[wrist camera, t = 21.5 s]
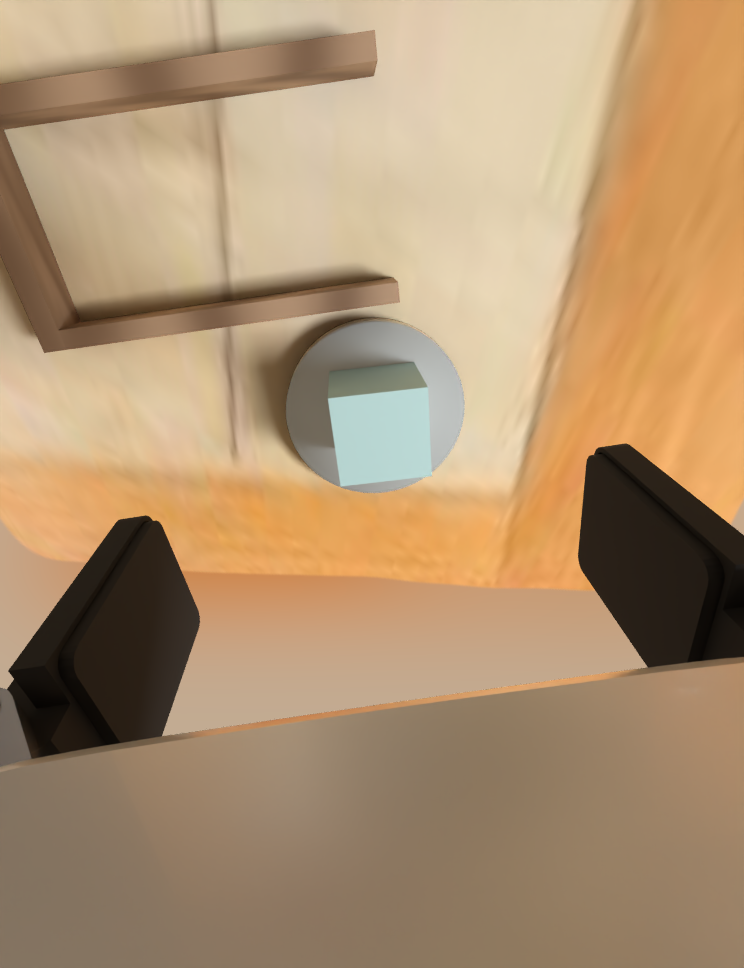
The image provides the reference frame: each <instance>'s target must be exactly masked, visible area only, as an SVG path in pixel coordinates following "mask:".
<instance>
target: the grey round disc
mask: <svg viewBox="0 0 744 968" xmlns="http://www.w3.org/2000/svg"><path fill="white" fill-rule="evenodd" d="M409 362H414V363H415V365H416V366H417V368H418V370H419V372H420V374H421V375H422V377H423V379H424V381H425V383H426V384H427V386H428V397H429V421H430V445H431V470H432V472H433V471H434V470H435V469H436V468H437V467H438V466H439V465H440V464H441V463H442V462H443V461H444V460H445V458H446V457H447V456H448V455H449V453H450V451H451V450H452V448H453V447H454V445H455V443H456V441H457V438H458V436H459V433H460V430H461V427H462V423H463V417H464V394H463V388H462V384H461V380H460V378H459V375H458V373H457V371H456V369H455V367H454V365H453V363H452V362H451V360H450V359H449V358H448V356H447V355H446V354H445V352H444V351H443V350H442V349H441V348H440V346H439V345H438V344H437V343H436V342H435V341H434V340H433V339H431V338H430V337H429V336H428V335H426V334H425V333H424V332H422V331H421V330H419V329H417V328H415V327H413V326H411V325H409V324H406V323H403V322H400V321H396V320H391V319H385V318H367V319H360V320H355V321H351V322H348V323H345V324H342V325H339V326H338V327H336V328H334V329H332V330H330V331H328V332H327V333H325V334H324V335H323V336H321V337H320V338H318V339H317V340H316V341H315V342H314V343H313V344H312V345H311V346H310V347H309V348H308V350H307V351H306V352H305V353H304V355H303V356H302V358H301V359H300V361H299V363H298V364H297V366H296V369H295V371H294V373H293V376H292V379H291V382H290V386H289V390H288V393H287V400H286V420H287V426H288V430H289V434H290V437H291V440H292V442H293V444H294V446H295V448H296V450H297V452H298V453H299V455H300V456H301V458H302V459H303V460H304V462H305V463H306V464H307V465H308V466H309V467H310V468H311V469H312V470H313V471H314V472H315V473H316V474H318V475H319V476H321V477H322V478H323V479H325V480H327V481H329V482H330V483H332V484H334V485H337V486H339V487H342V488H344V489H348V490H352V491H357V492H363V493H381V492H389V491H394V490H398V489H401V488H404V487H407V486H409V485H412V484H414V483H416V482H418V481H419V480H421V479H423V478H424V477H419V478H410V479H402V480H393V481H384V482H376V483H367V484H358V485H350V486H340V479H339V472H338V465H337V458H336V451H335V444H334V437H333V431H332V424H331V417H330V410H329V403H328V386H329V371H338V370H347V369H356V368H365V367H374V366H383V365H392V364H400V363H409Z"/></svg>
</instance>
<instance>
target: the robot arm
mask: <svg viewBox="0 0 744 968" xmlns="http://www.w3.org/2000/svg"><path fill="white" fill-rule="evenodd" d="M578 559H579V564H580V567H581V569H582V571H583V573H584V574H585V576H586V577H587V579H588V580H589V582H590V583H591V585H592V586H593V588H594V589H595V590H596V592H597V593H598V595H599V596H600V598H601V599H602V601H603V602H604V604H605V605H606V607H607V608H608V609H609V611H610V612H611V614H612V615H613V617H614V618H615V620H616V621H617V623H618V624H619V626H620V627H621V629H622V630H623V632H624V633H625V634H626V636H627V637H628V639H629V640H630V642H631V643H632V645H633V646H634V648H635V649H636V650H637V652H638V654H639V655H640V656H641V658H642V659H643V661H644V662H645V664H646V665H647V667H648V668H641V669H633V670H624V671H617V672H610V673H602V674H595V675H588V676H581V677H573V678H567V679H559V680H551V681H544V682H537V683H529V684H523V685H515V686H508V687H501V688H493V689H486V690H479V691H472V692H464V693H457V694H450V695H443V696H436V697H429V698H422V699H415V700H408V701H400V702H394V703H386V704H379V705H373V706H366V707H359V708H352V709H345V710H338V711H331V712H324V713H317V714H310V715H303V716H296V717H289V718H283V719H276V720H269V721H263V722H256V723H249V724H242V725H236V726H230V727H222V728H216V729H209V730H202V731H195V732H189V733H182V734H175V735H168V736H162V734H163V731H164V728H165V725H166V722H167V719H168V716H169V713H170V711H171V708H172V705H173V702H174V698H175V696H176V693H177V690H178V687H179V684H180V681H181V678H182V675H183V672H184V670H185V667H186V664H187V661H188V658H189V655H190V652H191V649H192V646H193V643H194V640H195V637H196V634H197V632H198V628H199V623H200V618H199V617H200V616H199V612H198V609H197V607H196V604H195V602H194V600H193V597H192V595H191V593H190V590H189V588H188V585H187V583H186V581H185V578H184V576H183V574H182V571H181V569H180V567H179V564H178V562H177V560H176V557H175V555H174V553H173V550H172V548H171V546H170V543H169V541H168V539H167V536H166V534H165V532H164V529H163V527H162V525H161V524H160V523H159V522H158V521H153V520H152V519H151V518H150V517H149V516H140V517H134V518H127V519H121V520H118V521H117V522H116V523H115V525H114V526H113V528H112V529H111V530H110V532H109V533H108V534H107V536H106V537H105V539H104V540H103V541H102V543H101V544H100V545H99V547H98V548H97V550H96V551H95V552H94V554H93V555H92V556H91V558H90V559H89V561H88V562H87V563H86V565H85V566H84V567H83V569H82V570H81V572H80V573H79V574H78V576H77V577H76V579H75V580H74V581H73V583H72V584H71V585H70V587H69V588H68V589H67V591H66V592H65V594H64V595H63V596H62V598H61V599H60V601H59V602H58V603H57V605H56V606H55V607H54V609H53V610H52V611H51V613H50V614H49V616H48V617H47V618H46V620H45V621H44V622H43V624H42V625H41V627H40V628H39V629H38V631H37V632H36V633H35V635H34V636H33V638H32V639H31V640H30V642H29V643H28V644H27V646H26V647H25V649H24V650H23V651H22V653H21V654H20V655H19V657H18V658H17V660H16V661H15V662H14V664H13V665H12V666H11V668H10V669H9V672H10V674H11V675H12V677H13V678H14V680H13V682H12V683H11V685H10V686H9V687H8V689H3V688H0V968H744V535H743V534H741V533H740V532H739V531H738V530H736V529H735V528H734V527H733V526H731V525H730V524H729V523H727V522H726V521H725V520H724V519H722V518H721V517H720V516H719V515H717V514H716V513H715V512H714V511H712V510H711V509H710V508H709V507H707V506H706V505H705V504H703V503H702V502H701V501H700V500H698V499H697V498H696V497H695V496H693V495H692V494H691V493H690V492H688V491H687V490H686V489H685V488H683V487H682V486H681V485H679V484H678V483H677V482H676V481H674V480H673V479H672V478H671V477H669V476H668V475H667V474H666V473H664V472H663V471H662V470H661V469H659V468H658V467H657V466H655V465H654V464H653V463H652V462H650V461H649V460H648V459H647V458H645V457H644V456H643V455H642V454H640V453H639V452H638V451H637V450H635V449H634V448H633V447H631V446H630V445H628V444H619V445H613V446H606V447H599V448H598V449H596V451H595V453H594V455H591V456H589V457H588V459H587V463H586V474H585V485H584V496H583V507H582V518H581V529H580V540H579V551H578Z"/></svg>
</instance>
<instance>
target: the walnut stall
mask: <svg viewBox="0 0 744 968" xmlns="http://www.w3.org/2000/svg"><path fill="white" fill-rule="evenodd" d="M376 64H377V50H376V40H375V30H372V31H365V32H358V33H351V34H344V35H338V36H331V37H324V38H317V39H310V40H303V41H296V42H289V43H282V44H275V45H268V46H262V47H255V48H248V49H241V50H234V51H227V52H220V53H213V54H206V55H199V56H192V57H186V58H179V59H172V60H165V61H158V62H151V63H144V64H137V65H130V66H123V67H116V68H110V69H103V70H96V71H89V72H82V73H75V74H68V75H61V76H54V77H47V78H40V79H34V80H27V81H20V82H13V83H6V84H0V255H1V257H2V260H3V262H4V264H5V266H6V268H7V271H8V273H9V275H10V277H11V280H12V282H13V284H14V286H15V288H16V291H17V293H18V295H19V297H20V300H21V302H22V304H23V306H24V309H25V311H26V313H27V315H28V317H29V320H30V322H31V324H32V326H33V329H34V331H35V333H36V335H37V337H38V340H39V342H40V344H41V346H42V349H43V351H44V353H46V352H53V351H61V350H68V349H75V348H82V347H89V346H96V345H103V344H110V343H117V342H124V341H131V340H138V339H145V338H152V337H159V336H166V335H173V334H180V333H187V332H194V331H201V330H208V329H215V328H222V327H229V326H236V325H243V324H250V323H257V322H264V321H271V320H278V319H285V318H292V317H299V316H306V315H313V314H320V313H327V312H334V311H341V310H348V309H355V308H362V307H370V306H377V305H384V304H391V303H398V302H400V299H399V288H398V282H397V281H396V280H395V279H394V278H386V279H379V280H372V281H365V282H358V283H351V284H344V285H337V286H330V287H323V288H316V289H309V290H302V291H295V292H288V293H281V294H274V295H267V296H260V297H253V298H246V299H239V300H232V301H225V302H218V303H211V304H204V305H197V306H190V307H183V308H176V309H169V310H162V311H155V312H148V313H141V314H134V315H127V316H120V317H113V318H106V319H99V320H92V321H85V322H80V319H79V317H78V314H77V312H76V309H75V307H74V304H73V302H72V299H71V297H70V294H69V292H68V289H67V287H66V284H65V282H64V279H63V277H62V274H61V272H60V269H59V267H58V264H57V262H56V259H55V257H54V254H53V252H52V249H51V247H50V244H49V242H48V239H47V237H46V234H45V232H44V229H43V227H42V224H41V222H40V219H39V217H38V214H37V212H36V209H35V207H34V204H33V202H32V199H31V197H30V194H29V192H28V189H27V187H26V184H25V182H24V179H23V177H22V174H21V172H20V169H19V167H18V164H17V162H16V160H15V157H14V155H13V152H12V150H11V147H10V145H9V142H8V140H7V137H6V135H5V132H4V129H10V128H17V127H24V126H31V125H38V124H45V123H52V122H59V121H66V120H73V119H80V118H87V117H94V116H101V115H107V114H114V113H121V112H128V111H135V110H142V109H149V108H156V107H163V106H170V105H177V104H184V103H191V102H198V101H204V100H211V99H218V98H225V97H232V96H239V95H246V94H253V93H260V92H267V91H274V90H281V89H288V88H295V87H301V86H308V85H315V84H322V83H329V82H336V81H343V80H350V79H357V78H364V77H371V76H374V73H375V68H376Z"/></svg>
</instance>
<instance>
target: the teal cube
mask: <svg viewBox="0 0 744 968" xmlns="http://www.w3.org/2000/svg"><path fill="white" fill-rule="evenodd" d="M328 403H329V410H330V417H331V424H332V431H333V437H334V444H335V451H336V458H337V465H338V472H339V479H340V486H350V485H358V484H367V483H376V482H384V481H393V480H402V479H410V478H419V477H428V476H432V470H431V445H430V421H429V397H428V386H427V384H426V383H425V381H424V379H423V377H422V375H421V374H420V372H419V370H418V368H417V366H416V365H415V363H414V362H409V363H400V364H392V365H383V366H374V367H365V368H356V369H347V370H338V371H329V386H328Z"/></svg>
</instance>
